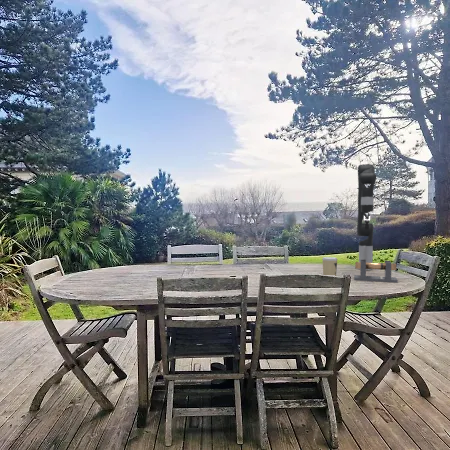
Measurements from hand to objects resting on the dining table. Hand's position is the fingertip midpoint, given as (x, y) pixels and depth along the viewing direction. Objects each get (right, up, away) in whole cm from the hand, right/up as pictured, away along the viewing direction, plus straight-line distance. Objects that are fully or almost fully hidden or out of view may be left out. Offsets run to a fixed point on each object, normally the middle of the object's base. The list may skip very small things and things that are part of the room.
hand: (366, 229), depth 243 cm
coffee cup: (-24, -30, -1) cm, 39 cm away
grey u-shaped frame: (0, -31, -13) cm, 33 cm away
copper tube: (0, -22, -13) cm, 26 cm away
